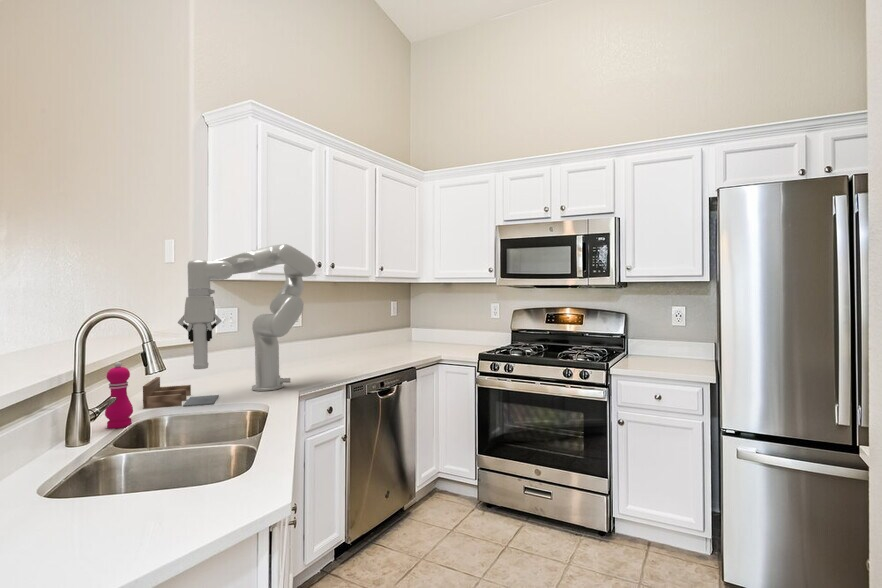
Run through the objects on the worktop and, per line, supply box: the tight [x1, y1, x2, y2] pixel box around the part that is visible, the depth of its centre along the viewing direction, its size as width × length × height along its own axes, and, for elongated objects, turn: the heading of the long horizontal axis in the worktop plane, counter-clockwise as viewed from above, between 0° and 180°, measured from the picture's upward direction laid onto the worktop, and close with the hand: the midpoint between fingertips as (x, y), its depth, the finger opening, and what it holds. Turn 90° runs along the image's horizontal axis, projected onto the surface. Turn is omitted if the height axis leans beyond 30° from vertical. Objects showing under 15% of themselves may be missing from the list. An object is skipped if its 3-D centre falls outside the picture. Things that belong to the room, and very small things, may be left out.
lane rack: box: [142, 376, 192, 410], centre depth 178 cm, size 12×19×8 cm, turn 18°
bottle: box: [192, 323, 209, 370], centre depth 177 cm, size 5×5×25 cm
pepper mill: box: [104, 361, 134, 430], centre depth 146 cm, size 7×7×20 cm
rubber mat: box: [182, 394, 220, 408], centre depth 177 cm, size 10×14×1 cm
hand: (200, 340), depth 177 cm, fingers closed on bottle, 5 cm apart
